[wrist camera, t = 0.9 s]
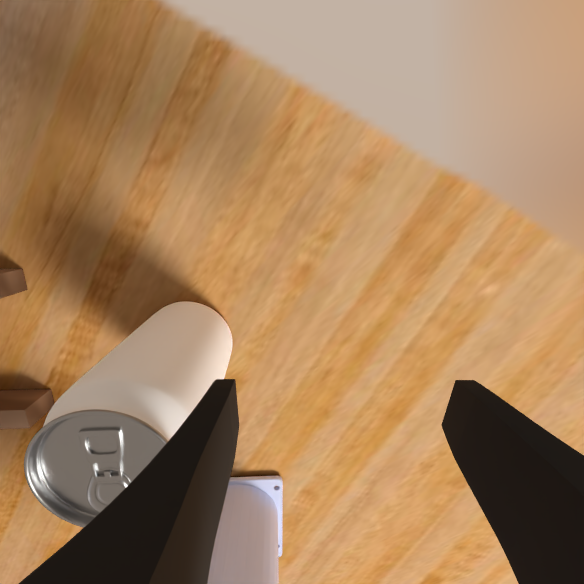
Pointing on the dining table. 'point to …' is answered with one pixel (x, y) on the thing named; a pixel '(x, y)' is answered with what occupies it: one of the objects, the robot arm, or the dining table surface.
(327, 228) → the dining table surface
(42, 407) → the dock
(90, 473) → the can
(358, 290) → the dining table surface
